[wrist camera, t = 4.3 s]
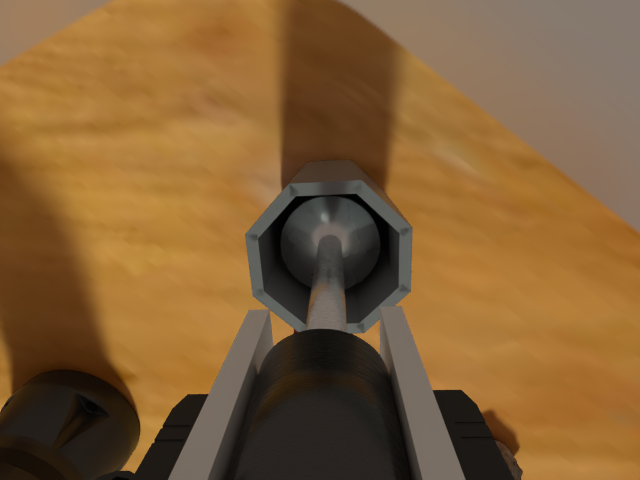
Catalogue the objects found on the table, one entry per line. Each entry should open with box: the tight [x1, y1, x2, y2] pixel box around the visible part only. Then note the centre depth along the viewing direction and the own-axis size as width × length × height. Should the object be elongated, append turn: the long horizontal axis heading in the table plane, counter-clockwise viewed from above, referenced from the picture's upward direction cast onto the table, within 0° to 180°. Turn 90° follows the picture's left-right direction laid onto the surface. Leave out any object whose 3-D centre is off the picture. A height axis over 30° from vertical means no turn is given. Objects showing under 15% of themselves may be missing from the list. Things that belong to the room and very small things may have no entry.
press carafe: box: [245, 160, 412, 333], centre depth 27 cm, size 9×11×14 cm
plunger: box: [225, 195, 412, 480], centre depth 15 cm, size 7×7×19 cm
